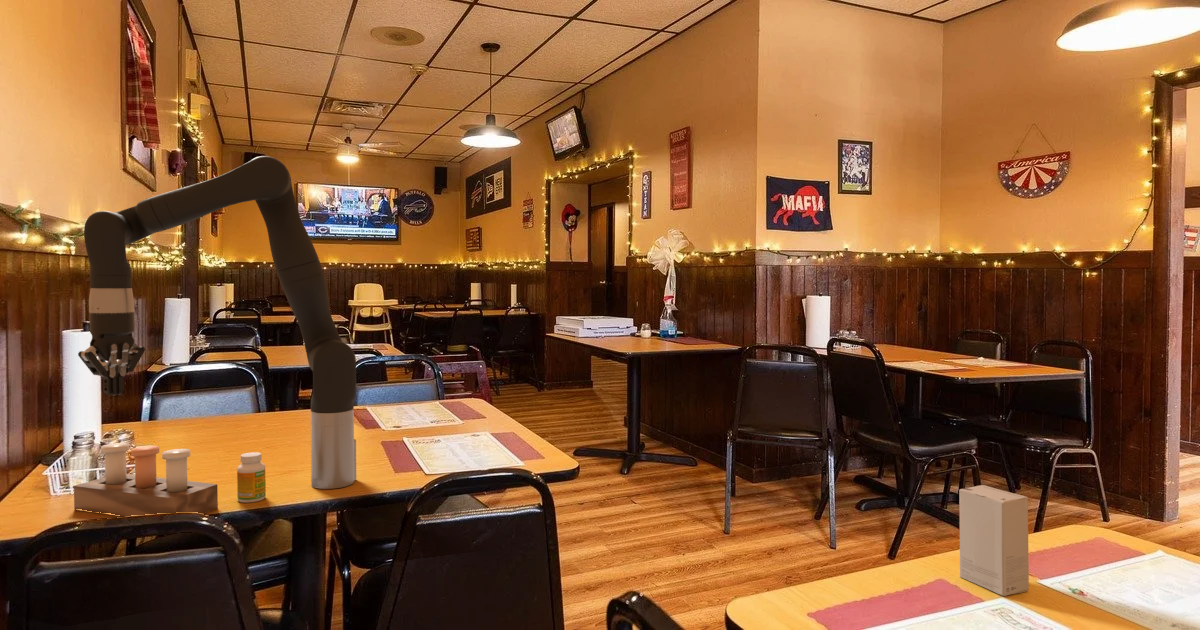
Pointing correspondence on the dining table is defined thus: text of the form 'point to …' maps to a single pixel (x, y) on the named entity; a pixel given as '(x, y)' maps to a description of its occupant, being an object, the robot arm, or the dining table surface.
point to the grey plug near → (176, 469)
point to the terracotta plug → (145, 466)
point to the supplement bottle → (251, 478)
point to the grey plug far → (115, 463)
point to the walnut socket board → (144, 498)
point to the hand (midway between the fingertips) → (114, 394)
